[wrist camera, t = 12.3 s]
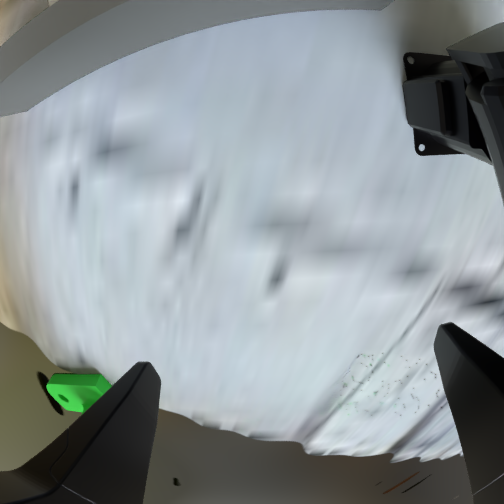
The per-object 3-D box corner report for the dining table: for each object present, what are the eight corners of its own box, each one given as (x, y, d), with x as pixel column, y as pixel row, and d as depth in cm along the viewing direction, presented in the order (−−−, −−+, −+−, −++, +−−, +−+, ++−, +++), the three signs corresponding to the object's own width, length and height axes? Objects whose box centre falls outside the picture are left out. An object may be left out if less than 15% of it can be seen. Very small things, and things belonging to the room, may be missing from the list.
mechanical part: (101, 372, 28) (75, 429, 21) (130, 403, 30) (111, 457, 23) (45, 372, 30) (20, 415, 23) (71, 399, 33) (51, 441, 26)
